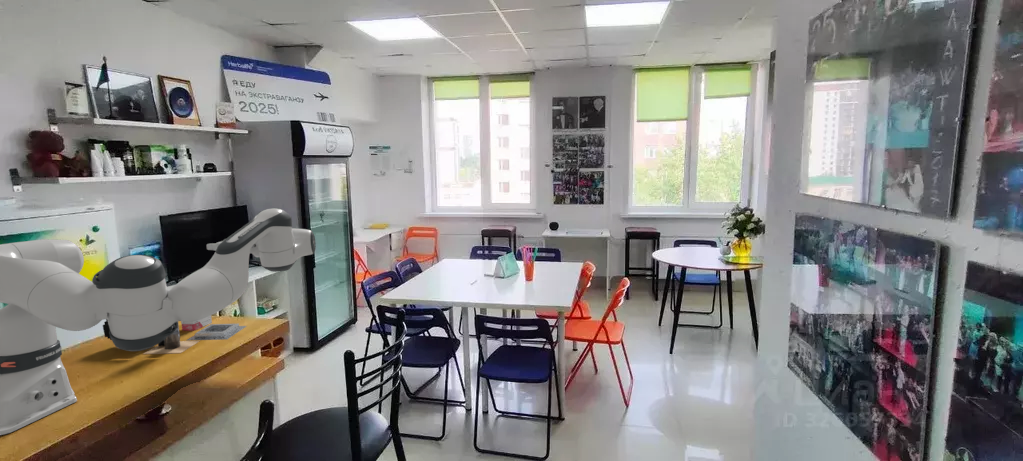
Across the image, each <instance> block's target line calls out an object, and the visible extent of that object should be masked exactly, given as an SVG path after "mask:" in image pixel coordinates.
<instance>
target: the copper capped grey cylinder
mask: <svg viewBox="0 0 1023 461" xmlns="http://www.w3.org/2000/svg"><path fill="white" fill-rule="evenodd" d="M174 326H175V325H174ZM180 341H181V334H180V325H179V323H178V327H177V329H176V330H175V332H173V333H172V334H170V335H168V336H167V338H166V339H164V346H165V349H175V348H178V347H180Z"/></svg>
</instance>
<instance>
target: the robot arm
mask: <svg viewBox="0 0 1023 461" xmlns="http://www.w3.org/2000/svg"><path fill="white" fill-rule="evenodd" d="M292 220H293V219H292V216H291V215H290V214H289V213H288V212H287V211H285V210H284V209H282V208H279V207H276V208H275V207H274V208H267V209H263V210H261V211H259V212H258V213H256V214H255V215H254V216H253V218H252V219H251V220H250V221H248V222H247V223H246V224H244V225H242V227H241V228H239V229H237V230H236V231H235V232H234V233H232V234H231V235H229V236H228V237H227V238H224V239H223V240H221V241H218V242H216V243H213V242H212V243H207V244H206V250H208V251H215V252H214V254H213V255H212V256H211V258H210V259H209V261H208V262H206V264H205V265H204V266H203V267H201V268H199V269H197V270H195V271H193V272H192V273H191V274H188V275H187V276H185V277H184V278H183V279H181V280H180V281H179V282H178V283H176V284H173V285H168V286H167V281H166V276H167V274H166V270H165V267H164V265H163V263H162V261H161V260H160V259H158V258H156V257H154V256H151V255H147V254H130V255H125V256H121V257H119V258H116V259H115V260H113V261H111V262H110V263H108V264H107V265H105V266H104V267H103V269H101V270H99V271H97V272H96V273H95V274H94V275H93V277H92V279H91V280H92V281H91V280H90V279H88V278H87V277H86V276H83V275H82V274H80V272H81V271H82V269H83V267H84V263H85V258H84V253H83V251H82V249H81V248H80V247H79V246H78V245H77V244H75V243H74V242H73V241H71V240H69V239H54V238H53V239H49V238H47V239H46V238H42V239H34V240H27V241H17V242H9V243H2V244H0V303H1V304H5V306H4V307H2V308H0V436H2V435H3V436H4V435H8V434H10V433H12V432H15V431H17V430H19V429H21V428H23V427H25V426H28V425H29V424H32V423H34V422H36V421H38V420H40V419H43V418H45V417H46V416H49V415H51V414H53V413H55V412H57V411H59V410H61V409H64V408H65V407H68V406H70V405H72V404H74V403H76V402H78V399H77V396H76V395H75V391H74V390H73V388H72V386H71V384H70V379H69V377H68V373H67V370H66V368H65V366H64V364H63V362H62V359H61V358H62V357H61V356H62V355H63V353H62V345H61V341H60V340H59V339H58V336H57V328H58V329H62V330H66V331H69V332H71V331H72V332H79V331H85V330H89V329H91V328H93V327H95V326H97V325H98V324H99V323H101V322H102V321H103V320H106V319H107V320H108V324H109V328H110V330H109V334H110V337H111V340H110V341H111V342H112V343H113V345H114V346H115V348H117V349H120V350H123V351H126V352H127V351H128V352H141V351H146V350H150V349H152V348H154V347H156V346H158V343H160V342H162V341H163V340H164V339H166V338H167V336H168V335H170V334H172V333H173V332H175V330H176V329H177V327H178V324H179V322H181V321H183V322H194V321H197V320H200V319H203V318H205V317H208V316H210V315H211V316H212V315H214V314H217V313H218V312H220V311H222V310H223V309H225V308H227V307H228V306H230V305H233V303H235V302H236V301H237V300H239V299H240V298H241V297H242V295H243V294H244V293H245V291H246V290H247V288H248V284H249V277H250V276H249V272H250V271H249V270H250V268H249V265H250V264H249V261H250V254H252V255H253V257H255V258H259V261H260V264H261V267H262V268H263V269H265V270H267V271H268V272H274V273H275V272H287V271H289V270H291V268H292V267H293V266H294V265H295V263H296V262H297V261H298V260H299V259H300V258H302V257H305V256H311V255H314V253H315V251H316V244H317V243H316V237H315V233H314V232H313V231H312V230H310V229H306V228H294V227H293V221H292ZM174 325H175V326H174Z"/></svg>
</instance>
